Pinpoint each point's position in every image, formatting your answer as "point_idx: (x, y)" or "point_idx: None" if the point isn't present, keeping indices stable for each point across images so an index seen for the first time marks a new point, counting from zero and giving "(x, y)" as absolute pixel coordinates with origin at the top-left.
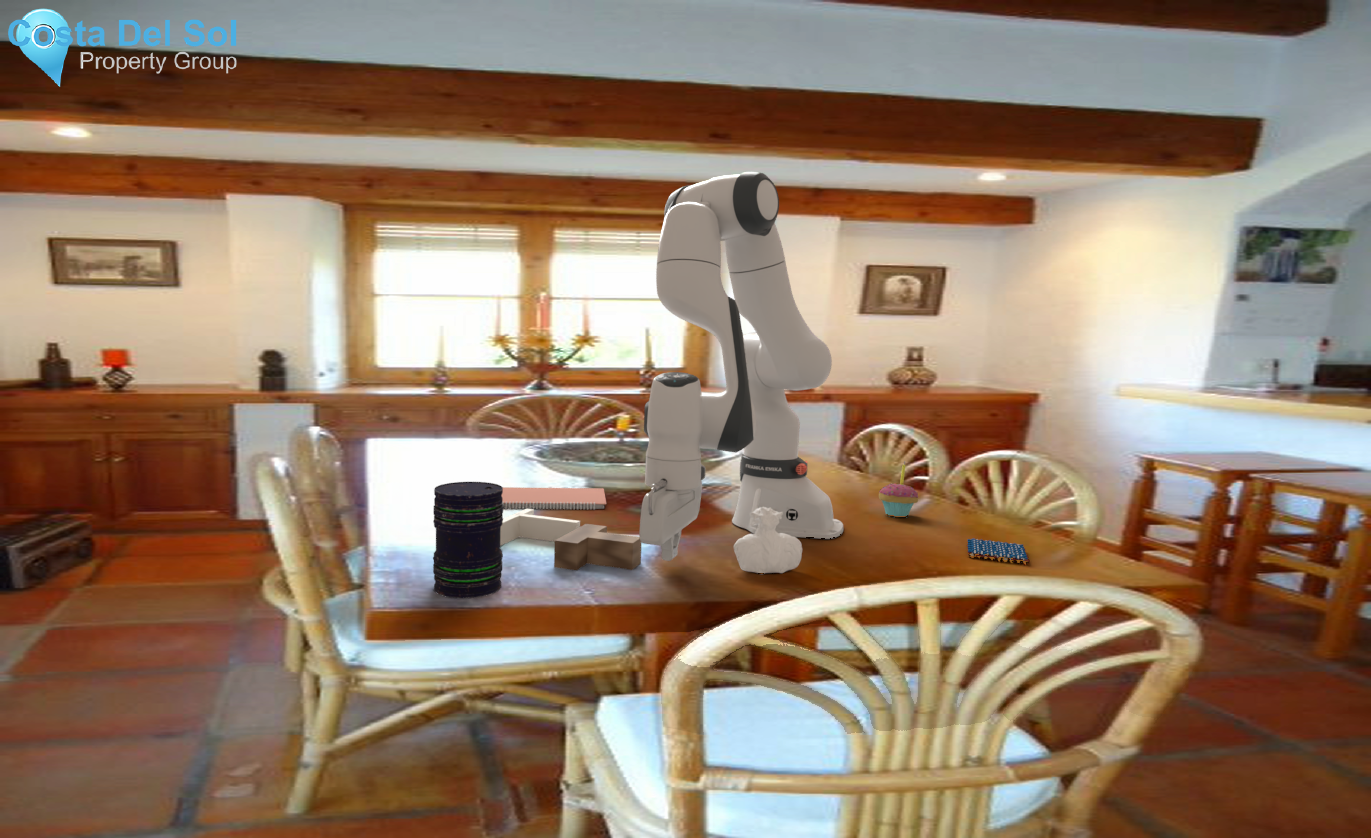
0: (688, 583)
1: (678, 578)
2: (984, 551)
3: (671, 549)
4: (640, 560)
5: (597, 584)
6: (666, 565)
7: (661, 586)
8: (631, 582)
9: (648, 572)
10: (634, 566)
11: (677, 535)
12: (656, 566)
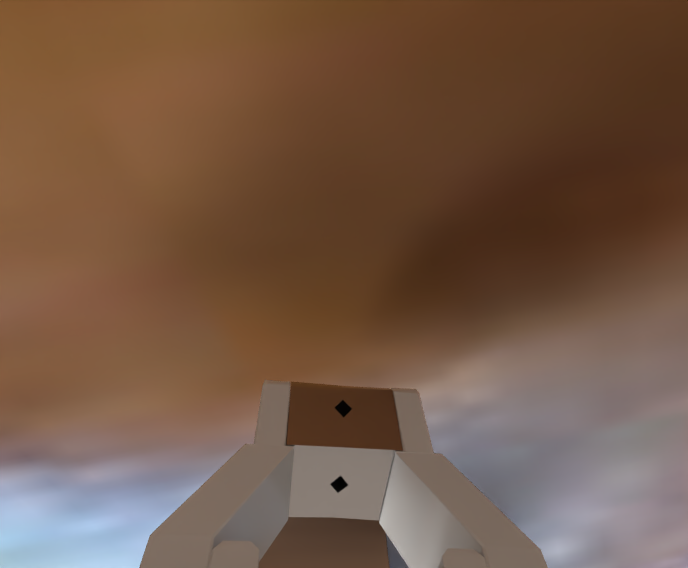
0: (593, 163)
1: (483, 255)
2: None
3: (448, 466)
4: None
5: (638, 557)
6: (217, 380)
7: (667, 317)
8: (598, 461)
9: None
10: None
11: (257, 557)
12: None
